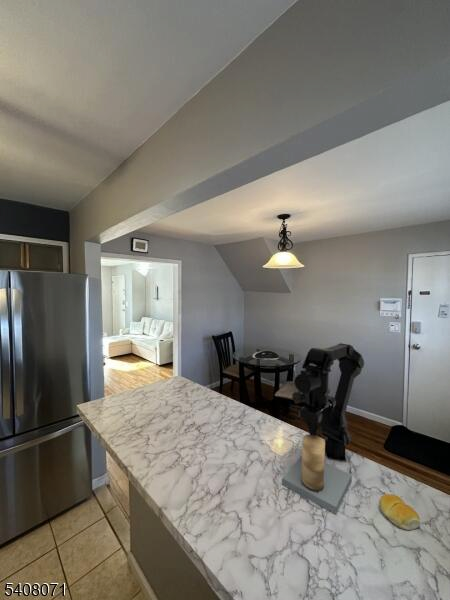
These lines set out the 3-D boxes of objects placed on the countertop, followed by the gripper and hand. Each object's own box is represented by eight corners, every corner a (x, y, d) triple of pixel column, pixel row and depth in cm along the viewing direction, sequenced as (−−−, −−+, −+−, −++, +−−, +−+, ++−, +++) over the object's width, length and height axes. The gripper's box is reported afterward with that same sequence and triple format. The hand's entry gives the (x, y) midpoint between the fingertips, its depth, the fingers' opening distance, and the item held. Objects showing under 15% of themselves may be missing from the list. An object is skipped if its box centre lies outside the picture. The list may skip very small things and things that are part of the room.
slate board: (303, 458, 90) (303, 453, 90) (351, 480, 79) (351, 474, 79) (281, 484, 77) (282, 478, 77) (335, 514, 67) (336, 507, 67)
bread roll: (394, 500, 72) (394, 486, 72) (425, 528, 64) (426, 512, 64) (370, 504, 71) (371, 490, 70) (399, 534, 62) (400, 518, 62)
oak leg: (323, 484, 77) (324, 437, 77) (324, 500, 71) (325, 449, 71) (301, 479, 79) (302, 432, 79) (300, 494, 73) (302, 444, 73)
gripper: (306, 375, 96) (305, 415, 96) (284, 387, 82) (283, 434, 82) (336, 381, 89) (335, 425, 89) (318, 396, 74) (316, 448, 75)
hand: (317, 432), depth 84 cm, fingers open, 9 cm apart
